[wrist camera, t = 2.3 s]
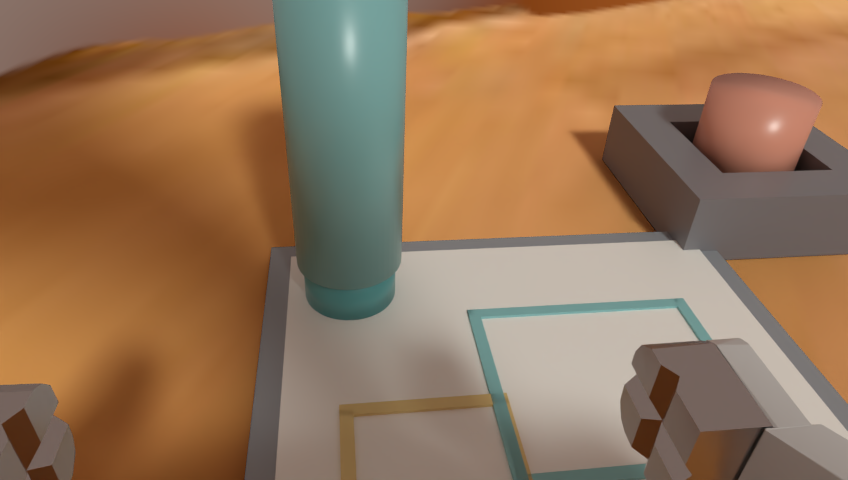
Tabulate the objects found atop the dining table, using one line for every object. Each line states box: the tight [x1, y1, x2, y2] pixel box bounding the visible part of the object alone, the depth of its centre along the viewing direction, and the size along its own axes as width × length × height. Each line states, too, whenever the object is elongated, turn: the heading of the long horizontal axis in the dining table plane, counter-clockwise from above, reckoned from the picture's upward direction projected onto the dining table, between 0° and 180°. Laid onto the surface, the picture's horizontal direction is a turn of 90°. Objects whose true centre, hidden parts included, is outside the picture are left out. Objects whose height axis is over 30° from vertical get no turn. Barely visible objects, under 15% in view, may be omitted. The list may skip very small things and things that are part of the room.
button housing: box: [602, 104, 848, 260], centre depth 29 cm, size 9×9×3 cm
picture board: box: [244, 231, 848, 480], centre depth 21 cm, size 18×14×1 cm
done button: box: [692, 73, 822, 173], centre depth 28 cm, size 4×4×4 cm
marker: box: [272, 0, 408, 320], centre depth 19 cm, size 4×4×14 cm
